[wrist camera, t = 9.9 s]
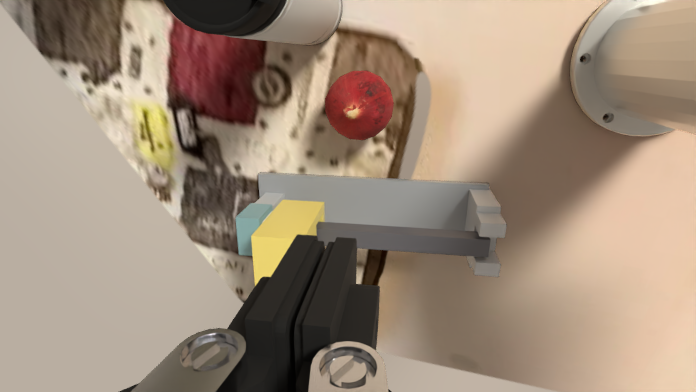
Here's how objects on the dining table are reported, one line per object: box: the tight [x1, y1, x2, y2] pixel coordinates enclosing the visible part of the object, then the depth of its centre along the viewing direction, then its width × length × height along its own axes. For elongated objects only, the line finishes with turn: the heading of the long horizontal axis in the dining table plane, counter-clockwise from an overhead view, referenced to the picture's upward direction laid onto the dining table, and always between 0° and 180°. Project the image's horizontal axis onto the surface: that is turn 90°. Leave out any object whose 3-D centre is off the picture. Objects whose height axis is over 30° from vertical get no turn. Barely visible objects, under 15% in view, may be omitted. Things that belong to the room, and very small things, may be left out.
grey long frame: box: [236, 172, 507, 277], centre depth 38 cm, size 23×7×8 cm, turn 89°
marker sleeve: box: [251, 200, 325, 286], centre depth 35 cm, size 4×4×8 cm
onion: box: [325, 71, 394, 140], centre depth 34 cm, size 6×6×8 cm
